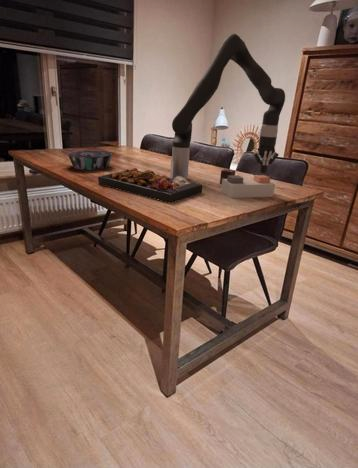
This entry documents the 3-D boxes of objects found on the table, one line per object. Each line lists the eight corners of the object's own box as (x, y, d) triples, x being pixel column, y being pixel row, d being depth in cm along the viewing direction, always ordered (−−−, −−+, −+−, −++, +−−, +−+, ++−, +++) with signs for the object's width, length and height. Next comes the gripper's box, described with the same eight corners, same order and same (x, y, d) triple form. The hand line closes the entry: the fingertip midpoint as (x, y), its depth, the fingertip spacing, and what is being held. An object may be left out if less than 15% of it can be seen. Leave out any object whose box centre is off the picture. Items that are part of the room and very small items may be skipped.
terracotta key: (258, 186, 155) (259, 177, 153) (253, 183, 160) (254, 175, 158) (269, 186, 156) (270, 177, 154) (263, 183, 161) (264, 175, 159)
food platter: (201, 193, 156) (203, 172, 152) (170, 204, 138) (171, 180, 134) (132, 177, 180) (132, 158, 176) (98, 185, 161) (97, 164, 157)
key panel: (230, 197, 150) (232, 185, 147) (221, 190, 160) (222, 178, 158) (273, 196, 155) (275, 184, 153) (261, 190, 166) (262, 178, 164)
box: (229, 185, 171) (231, 172, 168) (219, 183, 174) (220, 170, 171) (234, 183, 176) (235, 170, 173) (224, 181, 179) (225, 168, 176)
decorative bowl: (121, 170, 202) (122, 154, 199) (88, 173, 180) (88, 155, 176) (92, 164, 214) (92, 148, 211) (57, 166, 192) (57, 149, 189)
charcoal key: (231, 186, 151) (232, 178, 149) (226, 183, 156) (227, 175, 154) (242, 186, 152) (243, 178, 151) (237, 183, 157) (238, 175, 156)
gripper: (259, 136, 144) (254, 174, 151) (285, 136, 147) (279, 174, 154) (251, 134, 151) (246, 171, 157) (276, 134, 154) (271, 171, 161)
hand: (262, 172), depth 156 cm, fingers closed
